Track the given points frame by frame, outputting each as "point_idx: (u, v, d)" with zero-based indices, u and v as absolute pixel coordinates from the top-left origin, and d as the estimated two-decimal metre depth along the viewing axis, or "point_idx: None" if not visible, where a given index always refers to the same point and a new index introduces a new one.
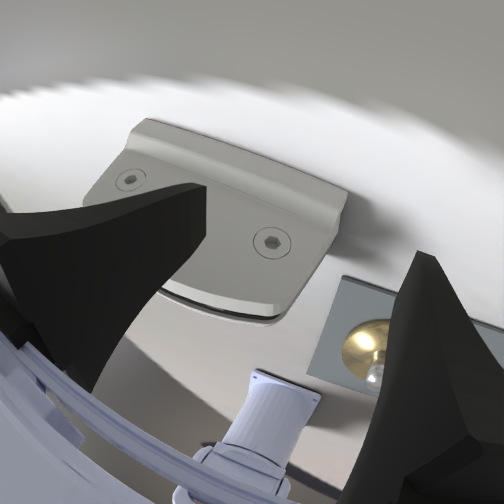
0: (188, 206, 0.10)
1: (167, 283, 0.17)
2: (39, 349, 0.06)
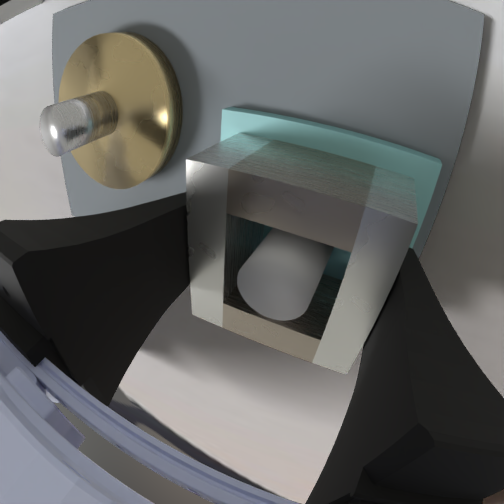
0: None
1: None
2: (57, 365, 0.06)
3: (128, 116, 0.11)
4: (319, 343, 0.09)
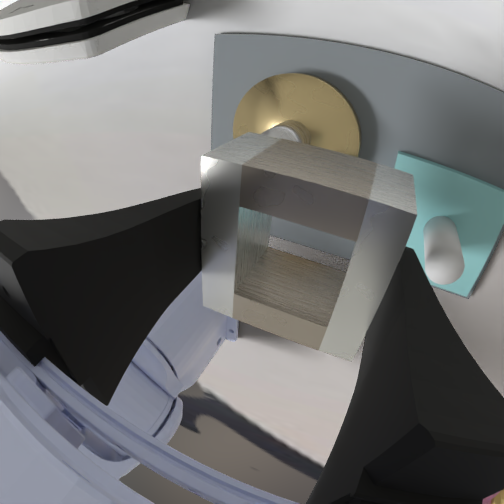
0: None
1: (10, 24, 0.10)
2: (56, 364, 0.06)
3: (321, 145, 0.15)
4: (326, 330, 0.10)
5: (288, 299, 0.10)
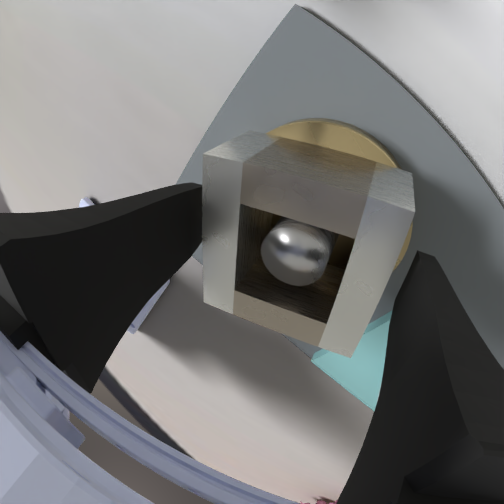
0: (188, 206, 0.10)
1: None
2: (39, 349, 0.06)
3: (345, 250, 0.11)
4: (325, 327, 0.10)
5: (288, 296, 0.11)
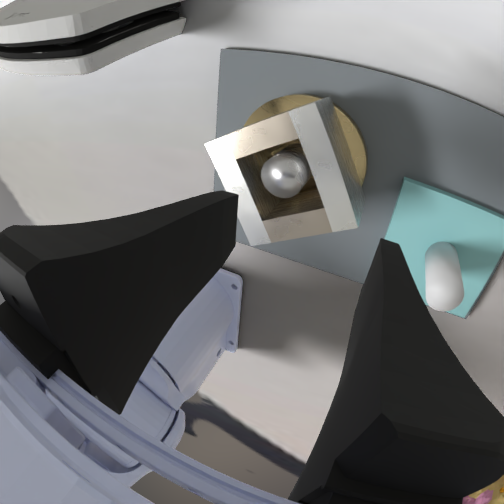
0: (221, 216, 0.10)
1: (5, 33, 0.10)
2: (70, 376, 0.06)
3: None
4: (325, 211, 0.14)
5: (297, 208, 0.15)
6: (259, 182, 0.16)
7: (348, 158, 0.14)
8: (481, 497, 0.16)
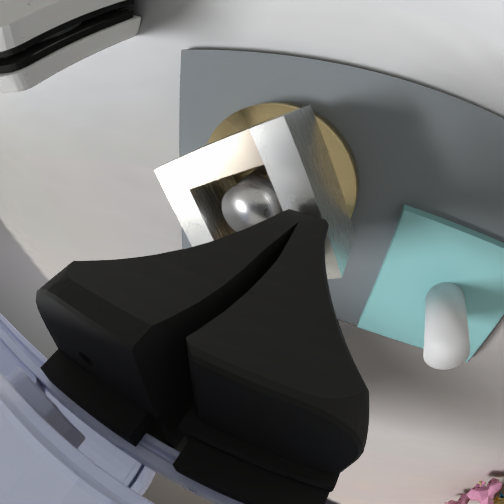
0: None
1: None
2: (155, 435, 0.05)
3: None
4: None
5: None
6: None
7: (333, 185, 0.11)
8: None
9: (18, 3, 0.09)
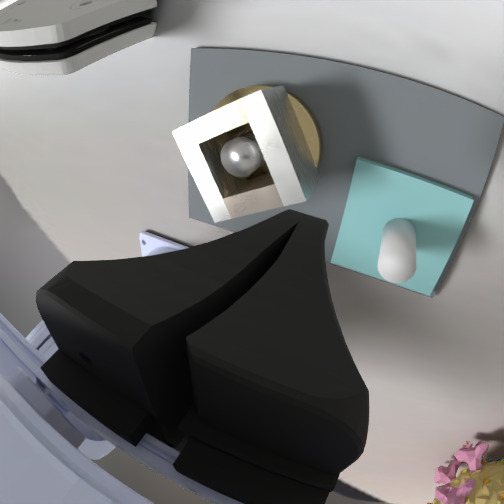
0: None
1: (1, 38, 0.12)
2: (155, 435, 0.05)
3: None
4: (276, 187, 0.15)
5: (253, 186, 0.16)
6: (221, 165, 0.17)
7: (300, 140, 0.16)
8: (462, 486, 0.18)
9: (59, 6, 0.13)
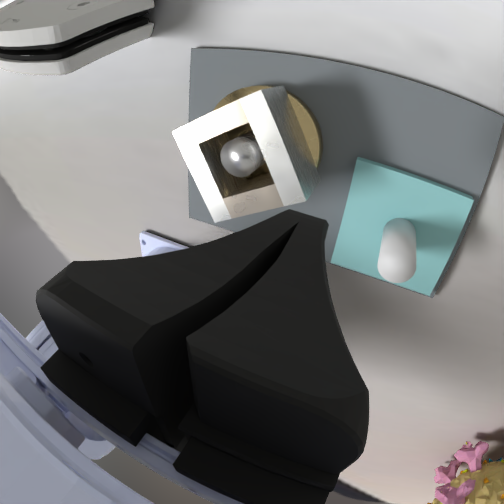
0: None
1: None
2: (155, 435, 0.05)
3: None
4: (276, 187, 0.15)
5: (253, 186, 0.16)
6: (221, 165, 0.17)
7: (300, 140, 0.16)
8: (462, 486, 0.18)
9: (57, 6, 0.13)
